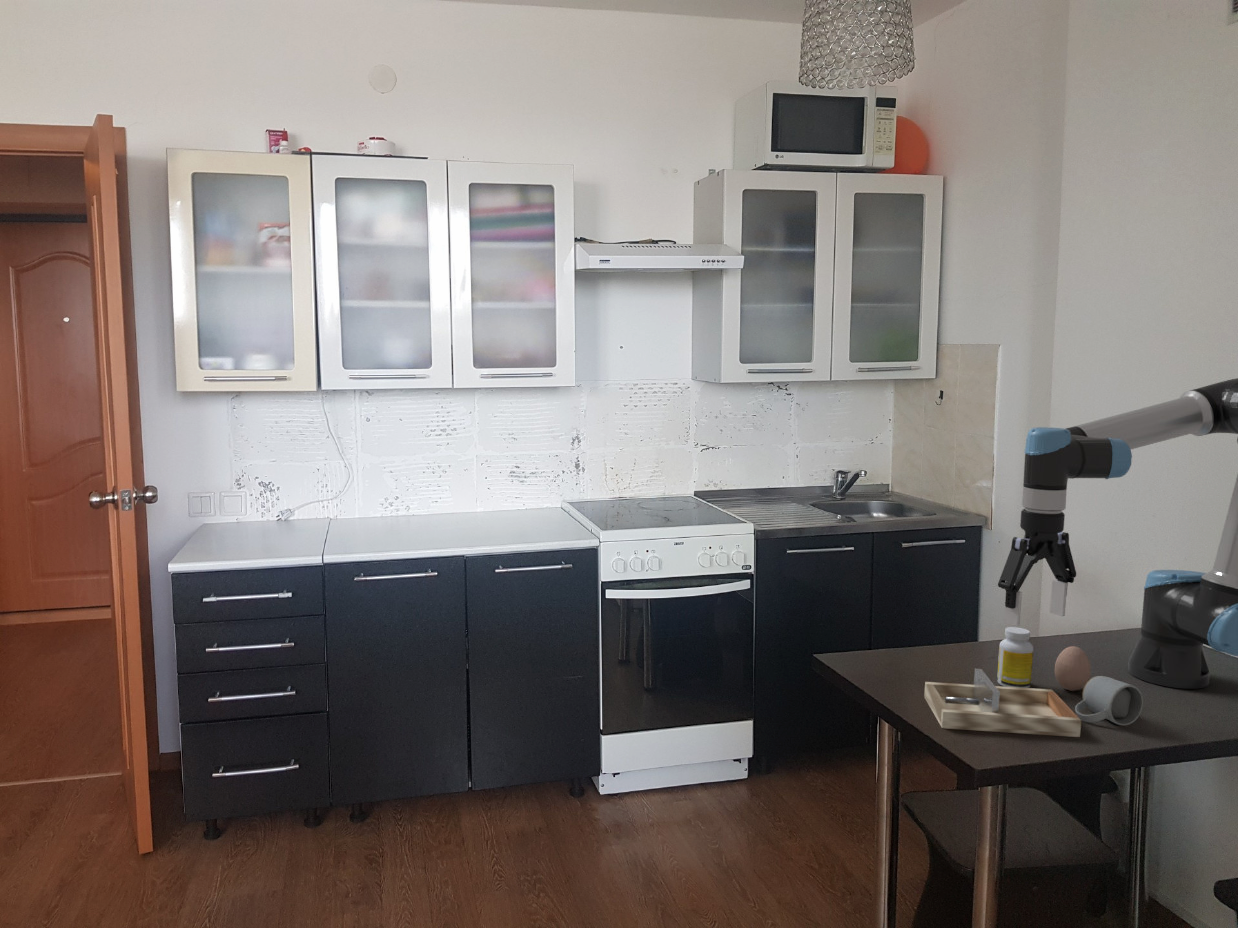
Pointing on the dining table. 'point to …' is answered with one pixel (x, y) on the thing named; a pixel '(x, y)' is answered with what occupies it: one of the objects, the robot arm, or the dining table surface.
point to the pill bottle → (1015, 659)
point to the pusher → (980, 694)
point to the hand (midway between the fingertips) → (1035, 619)
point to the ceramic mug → (1110, 701)
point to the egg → (1072, 668)
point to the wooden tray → (1004, 711)
